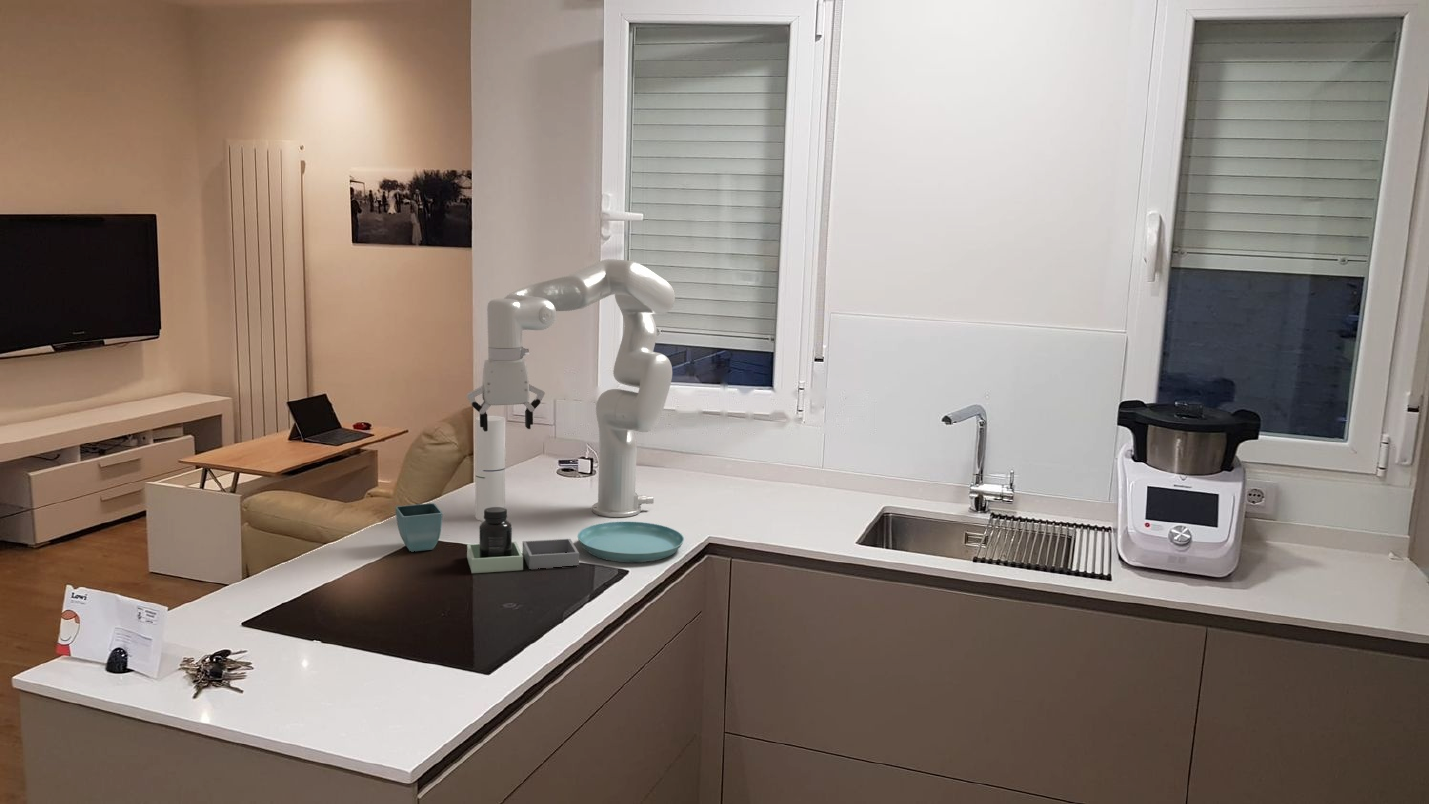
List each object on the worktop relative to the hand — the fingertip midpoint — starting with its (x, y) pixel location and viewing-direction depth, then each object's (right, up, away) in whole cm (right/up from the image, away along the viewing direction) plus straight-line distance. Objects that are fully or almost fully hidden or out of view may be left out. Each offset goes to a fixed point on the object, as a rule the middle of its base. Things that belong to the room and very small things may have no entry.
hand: (506, 429), depth 239 cm
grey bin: (+11, -28, -9) cm, 32 cm away
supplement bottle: (0, -29, -12) cm, 31 cm away
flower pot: (-19, -27, -4) cm, 33 cm away
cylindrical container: (-8, -23, +22) cm, 33 cm away
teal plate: (+28, -28, +2) cm, 40 cm away
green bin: (0, -29, -12) cm, 31 cm away
